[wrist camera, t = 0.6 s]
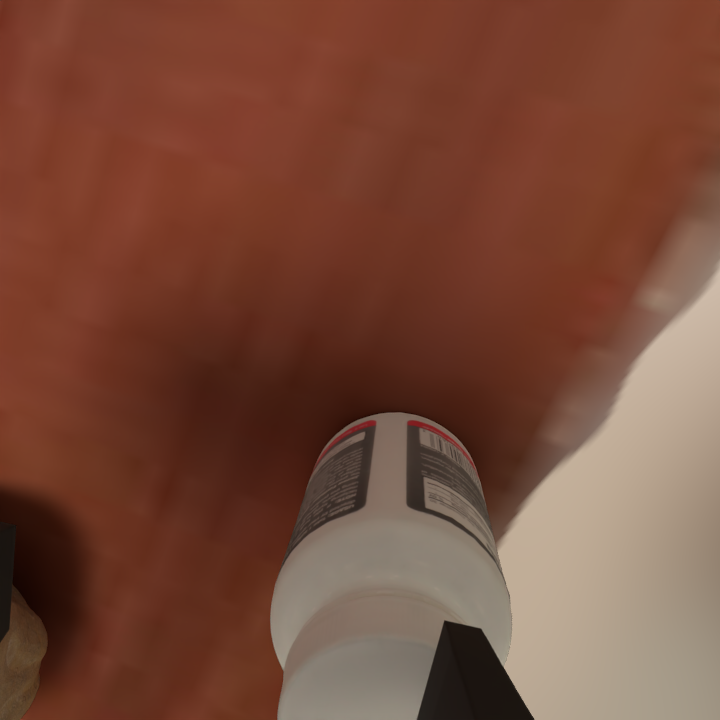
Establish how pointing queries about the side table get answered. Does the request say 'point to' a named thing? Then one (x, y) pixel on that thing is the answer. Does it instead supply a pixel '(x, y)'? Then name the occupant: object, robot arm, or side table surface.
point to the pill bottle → (383, 571)
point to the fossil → (20, 659)
